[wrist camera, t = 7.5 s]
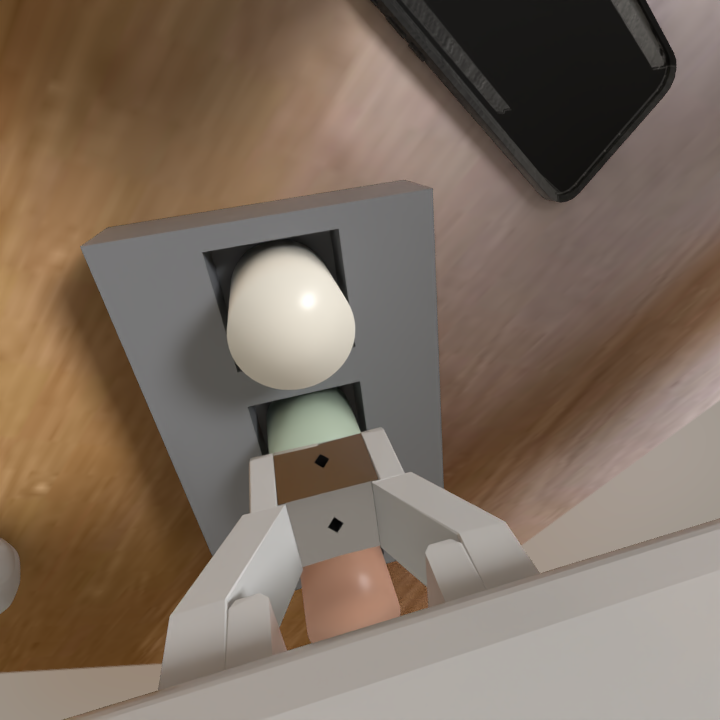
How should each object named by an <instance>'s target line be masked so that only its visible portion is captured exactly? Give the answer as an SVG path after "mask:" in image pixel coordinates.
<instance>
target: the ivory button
mask: <svg viewBox="0 0 720 720" xmlns="http://www.w3.org/2000/svg"><path fill="white" fill-rule="evenodd" d="M354 338H355V321H354V316H353V313H352V310H351V307H350V305H349V304H348V302H347V300H346V298H345V297H344V295H343V293H342V292H341V290H340V288H339V287H338V285H337V284H336V282H335V280H334V279H333V277H332V275H331V274H330V272H329V271H328V269H327V267H326V266H325V264H324V262H323V261H322V260H321V258H320V257H319V256H318V255H317V254H316V253H315V252H314V251H312V250H311V249H310V248H308V247H306V246H305V245H302V244H300V243H298V242H294V241H290V240H271V241H267V242H264V243H261V244H258V245H257V246H255V247H253V248H251V249H250V250H249V251H247V252H246V253H245V254H244V255H243V256H242V257H241V259H240V260H239V261H238V263H237V265H236V267H235V269H234V271H233V274H232V278H231V286H230V298H229V310H228V323H227V342H228V346H229V350H230V353H231V355H232V357H233V359H234V361H235V362H236V364H237V365H238V366H239V368H240V369H241V370H242V371H243V372H244V373H245V374H246V375H247V376H249V377H250V378H251V379H253V380H255V381H256V382H258V383H260V384H262V385H265V386H268V387H271V388H275V389H281V390H297V389H303V388H307V387H311V386H314V385H316V384H319V383H321V382H322V381H324V380H326V379H328V378H329V377H330V376H332V375H333V374H334V373H335V372H336V371H337V370H338V369H339V368H340V367H341V366H342V365H343V364H344V362H345V361H346V359H347V358H348V356H349V354H350V352H351V349H352V346H353V343H354Z"/></svg>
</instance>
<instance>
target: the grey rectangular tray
mask: <svg viewBox="0 0 720 720" xmlns="http://www.w3.org/2000/svg"><path fill="white" fill-rule="evenodd" d="M271 240H290V241H294V242H298V243H300V244H302V245H305V246H306V247H308V248H310V249H311V250H312V251H314V252H315V253H316V254H317V255H318V256H319V257H320V258H321V260H322V261H323V262H324V264H325V266H326V267H327V269H328V271H329V272H330V274H331V275H332V277H333V279H334V280H335V282H336V284H337V285H338V287H339V288H340V290H341V292H342V293H343V295H344V297H345V298H346V300H347V302H348V304H349V305H350V307H351V310H352V313H353V316H354V321H355V338H354V343H353V346H352V349H351V352H350V354H349V356H348V358H347V359H346V361H345V362H344V364H343V365H342V366H341V367H340V368H339V369H338V370H337V371H336V372H335V373H334V374H333V375H332V376H330V377H329V378H328V379H326V380H324V381H322V382H321V383H319V384H316V385H314V386H311V387H307V388H303V389H297V390H281V389H275V388H271V387H268V386H265V385H262V384H260V383H258V382H256V381H255V380H253V379H251V378H250V377H249V376H247V375H246V374H245V373H244V372H243V371H242V370H241V369H240V368H239V366H238V365H237V364H236V362H235V361H234V359H233V357H232V355H231V353H230V350H229V346H228V342H227V323H228V310H229V298H230V286H231V278H232V274H233V271H234V269H235V267H236V265H237V263H238V261H239V260H240V259H241V257H242V256H243V255H244V254H245V253H246V252H247V251H249V250H250V249H251V248H253V247H255V246H257V245H258V244H261V243H264V242H267V241H271ZM80 247H81V250H82V252H83V254H84V257H85V259H86V261H87V264H88V266H89V268H90V271H91V273H92V275H93V278H94V280H95V282H96V285H97V287H98V289H99V292H100V294H101V296H102V299H103V301H104V304H105V306H106V308H107V311H108V313H109V315H110V318H111V320H112V322H113V325H114V327H115V329H116V332H117V334H118V336H119V339H120V341H121V343H122V346H123V348H124V350H125V353H126V355H127V357H128V360H129V362H130V364H131V367H132V369H133V371H134V374H135V376H136V378H137V381H138V383H139V385H140V388H141V390H142V393H143V395H144V397H145V400H146V402H147V404H148V407H149V409H150V411H151V414H152V416H153V418H154V421H155V423H156V425H157V428H158V430H159V432H160V435H161V437H162V439H163V442H164V444H165V446H166V449H167V451H168V453H169V456H170V458H171V460H172V463H173V465H174V467H175V470H176V472H177V474H178V477H179V479H180V482H181V484H182V486H183V489H184V491H185V493H186V496H187V498H188V500H189V503H190V505H191V507H192V510H193V512H194V514H195V517H196V519H197V521H198V524H199V526H200V528H201V531H202V533H203V535H204V538H205V540H206V542H207V545H208V547H209V549H210V552H211V554H212V556H214V554H215V553H216V551H217V550H218V549H219V547H220V546H221V544H222V543H223V542H224V540H225V539H226V538H227V536H228V535H229V533H230V532H231V531H232V529H233V528H234V526H235V525H236V524H237V522H238V521H239V519H240V518H241V517H242V515H245V514H249V513H250V505H249V461H250V459H251V458H254V457H258V456H263V455H267V454H269V448H268V436H267V423H266V417H267V411H268V408H269V406H270V404H271V402H272V401H276V400H280V399H284V398H289V397H293V396H298V395H302V394H306V393H311V392H315V391H320V390H324V389H328V388H333V387H337V388H339V389H340V390H341V391H342V392H343V393H344V394H345V395H346V397H347V399H348V401H349V403H350V406H351V408H352V411H353V413H354V416H355V419H356V421H357V424H358V426H359V429H360V431H361V432H364V431H367V430H371V429H375V428H379V427H382V428H383V429H384V431H385V433H386V435H387V437H388V439H389V441H390V443H391V445H392V447H393V450H394V452H395V454H396V456H397V458H398V460H399V462H400V464H401V466H402V468H403V471H404V473H408V472H413V473H414V474H416V475H418V476H420V477H422V478H424V479H426V480H428V481H429V482H431V483H433V484H435V485H437V486H439V487H441V488H443V489H444V483H443V456H442V429H441V401H440V374H439V347H438V320H437V293H436V266H435V239H434V212H433V188H430V187H426V186H423V185H420V184H416V183H413V182H410V181H406V180H401V181H394V182H388V183H382V184H376V185H369V186H363V187H357V188H351V189H345V190H338V191H332V192H326V193H320V194H313V195H307V196H301V197H295V198H289V199H282V200H276V201H270V202H264V203H257V204H251V205H245V206H239V207H233V208H226V209H220V210H214V211H208V212H201V213H195V214H189V215H183V216H177V217H170V218H164V219H158V220H152V221H145V222H139V223H133V224H127V225H121V226H114V227H108V228H106V229H104V230H103V231H102V232H100V233H99V234H97V235H96V236H95V237H93V238H92V239H90V240H89V241H88V242H86V243H85V244H83V245H82V246H80ZM380 547H381V545H380ZM381 550H382V553H383V556H384V559H385V562H386V563H390V562H393V561H396V560H395V559H394V558H393V557H392V556H391V555H389V554H388V553H387V552H386V551H385V550H384V549H382V548H381ZM301 588H302V586H301V578H299V581H298V583H297V586H296V588H295V590H297V589H301Z"/></svg>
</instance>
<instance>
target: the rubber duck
mask: <svg viewBox="0 0 720 720" xmlns="http://www.w3.org/2000/svg"><path fill="white" fill-rule="evenodd" d="M19 584H20V559H19V555H18V553H17V551H16V550H15V548H14V547H13V546H12V545H10V544H9V543H8V542H7V541H5V540H4V539H2V538H0V614H1V613H2V612H3V611H5V610H6V609H7V608H8V607H9V606H10V605H11V603H12V601H13V599H14V597H15V595H16V593H17V590H18V587H19Z"/></svg>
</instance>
